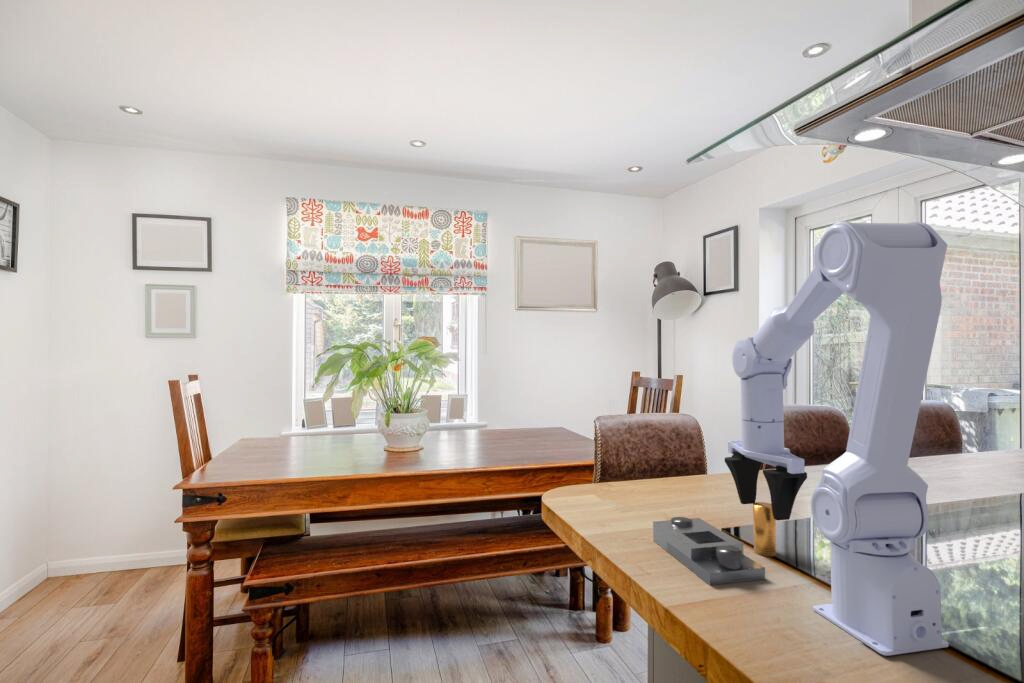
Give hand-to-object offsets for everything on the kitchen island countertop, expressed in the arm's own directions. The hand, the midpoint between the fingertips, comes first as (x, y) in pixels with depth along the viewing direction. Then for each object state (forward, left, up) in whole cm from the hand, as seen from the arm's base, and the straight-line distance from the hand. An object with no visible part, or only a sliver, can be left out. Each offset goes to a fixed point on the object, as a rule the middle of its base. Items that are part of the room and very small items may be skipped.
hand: (763, 510), depth 77 cm
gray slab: (0, +10, -6) cm, 12 cm away
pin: (0, 0, -6) cm, 6 cm away
